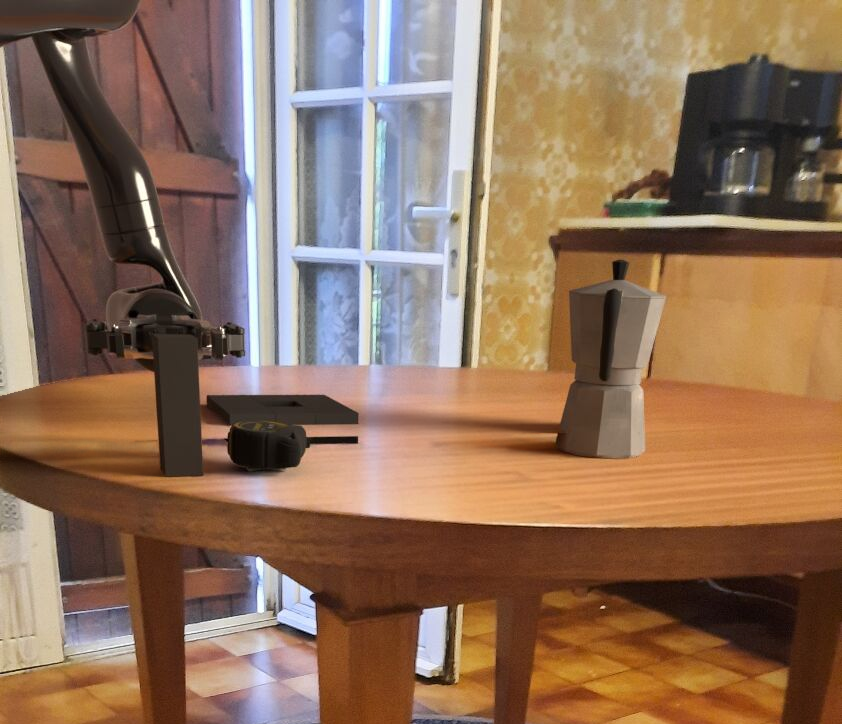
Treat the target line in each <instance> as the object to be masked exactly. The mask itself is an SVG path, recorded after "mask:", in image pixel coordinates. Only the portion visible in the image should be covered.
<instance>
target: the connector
mask: <svg viewBox="0 0 842 724" xmlns="http://www.w3.org/2000/svg"><path fill="white" fill-rule="evenodd" d="M152 344H153V360H154V372H153V373H154V374H153V375H154V390H155V403H156V404H155V407H156V421H157V435H158V436H157V439H158V454H159V470H160V471H161V472H162V474H163V476H164V477H166V478H167V477H170V478H171V477H203V476H204V458H203V438H202V437H203V435H202V413H201V412H202V411H201V391H200V371H199V370H200V369H199V360H198V345H197V338H196V337H194V336H192V335H187V334H152Z"/></svg>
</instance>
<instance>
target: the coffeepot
mask: <svg viewBox="0 0 842 724" xmlns="http://www.w3.org/2000/svg"><path fill="white" fill-rule="evenodd" d="M611 265H612V267H611V268H612V279H611V280H607V281H602V282H599V283H593V284H590V285H586V286H583V287H579V288H574V289H571V290H568V300H569V302H568V303H569V325H570V326H569V327H570V328H569V329H570V352H571V354H570V355H571V361H572V362H573V363H574V364H575V370H574V381H573V382H572V383H570V384H569V388H568V392H567V396H566V400H565V404H564V408H563V411H562V416H561V418H560V423H559V427H558V429H559V430H560V431H562V432H557V435H556V438H555V442H554V445H555V447H556V448H557V449H558V450H559V451H561V452H563V453H566V454H570V455H573V456H574V455H575V456H580V457H587V458H594V459H595V458H596V459H597V458H598V459H631V458H637V457H640V456H641V455H642V454H643V453H645V452H646V430H645V429H646V428H645V426H646V425H645V403H644V401H645V399H644V395H645V394H644V389H643V387H642V385H640V384H641V383H642V375H643V368H645V367H647V366H648V365H649V362H650V358H651V354H652V351H653V348H654V343H655V340H656V336H657V333H658V329H659V325H660V321H661V317H662V314H663V310H664V306H665V303H666V299H667V295H664V294H662V293H660V292H658V291H657V292H656V291H654V290H651V289H649V288H646V287H643V286H641V285H638V284H635V283H632V282H630V281H628V280H626V276H627V273H628V269H629V266H630V261H627V260H626V259H622V258H621V259H620V258H618V259H616V260H613V261H612V262H611ZM639 455H640V456H639ZM636 456H637V457H636Z"/></svg>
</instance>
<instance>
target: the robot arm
mask: <svg viewBox="0 0 842 724" xmlns="http://www.w3.org/2000/svg"><path fill="white" fill-rule="evenodd" d="M140 4H141V0H0V48H4V47H7V46H10V45H12V44H15V43H18V42H21V41H24V40H26V39H28V38H31V41H32V43H33V46H34V48H35V50H36V53H37V56H38V58H39V61H40V63H41V65H42V68H43V70H44V73H45V75H46V78H47V80H48V83H49V86H50V89H51V90H52V93H53V95H54V97H55V100H56V102H57V104H58V107H59V109H60V112H61V114H62V116H63V119H64V121H65V123H66V127H67V129H68V132H69V134H70V136H71V139H72V141H73V145H74V146H75V149H76V153H77V155H78V158H79V161H80V163H81V166H82V170H83V174H84V176H85V181H86V183H87V187H88V190H89V194H90V198H91V202H92V206H93V210H94V215H95V218H96V222H97V226H98V229H99V233H100V236H101V240H102V245H103V248H104V250H105V253H106V256H107V258H108V259H109V260H110V261H111V262H112V263H114V264H119V265H130V266H131V265H133V266H144V267H148V268H150V269H152V270H154V271H155V272H156V273H157V274H158V276H159V277H160V280H161V281H160V282H159V281H158V282H154V283H150V284H143V285H138V286H137V285H136V286H132V287H131V286H130V287H125V288H121V289H118V290H115V291H114V292H112V293H111V294H110V296H109V297H108V299H107V302H106V307H105V320H106V321H103V320H100V319H99V318H92V319H91V320H88V321H87V322H86V323H85V325H84V326H85V338H86V349H87V354H90V355H92V356H98V355H101V354H102V353H103V351H104V350H107V354H108V355H109V356H110V355H111V356H112V357H116V359H134V360H135V361H136V362H137V363H138V364H139V365H140V366H141V367H143V368H144V369H146V370H148V371H150V372H152V373H154V360H153V344H152V334H187V335H192V336H194V337H196V338H197V345H198V361H201V360H211V359H212V358H213V359H214V360H224V358H226V357H228V355H229V356H230V355H231V356H232V357H235V358H239V359H241V358H242V357H246V350H245V349H246V348H245V328H244V327H242V326H240V325H238V324H236V323H233V322H231V321H229V322H228V321H227V322H226V323H222V324H220V326H212V323H211V321H209V320H207V319H206V320H205V319H203V314H202V311H201V308H200V305H199V303H198V300H197V298H196V297H195V295H194V293H193V290H192V289H191V287H190V285H189V283H188V281H187V279H186V277H185V276H184V274H183V272H182V269H181V268H180V266H179V263H178V261H177V258H176V256H175V253H174V252H173V249H172V246H171V243H170V239H169V236H168V232H167V229H166V225H165V220H164V216H163V212H162V208H161V203H160V199H159V195H158V190H157V187H156V183H155V180H154V177H153V176H154V175H153V173H152V171H151V168H150V166H149V164H148V162H147V159H146V158H145V156H144V154H143V152H142V150H141V149H140V147H139V146H138V144H137V142H136V141H135V139H134V138H133V137H132V135H131V133H129V131H128V130H127V128H126V126H125V125H124V123H122V121H121V120H120V118H119V117H118V115H117V114H116V112H115V111H114V109H113V107H112V106H111V105H110V103H109V101H108V99H107V97H106V96H105V94H104V92H103V89H102V87H101V86H100V84H99V81H98V78H97V77H96V74H95V71H94V68H93V64H92V61H91V58H90V57H91V56H90V52H89V48H88V41H87V39H90V38H95V37H99V36H105V35H106V36H107V35H110V34H113V33H116V32H119V31H120V30H121V29H123V28H124V27H126V26H127V25H128V24H130V22H131V21H132V20H133V18H134V17H135V15H136V14H137V12H138V10H139V7H140Z"/></svg>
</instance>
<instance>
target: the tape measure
mask: <svg viewBox="0 0 842 724" xmlns="http://www.w3.org/2000/svg"><path fill="white" fill-rule="evenodd" d="M311 437H312V436H307V431H306V429H305V428H304V427H303V425H286V424H281V423H275V422H267V421H246V422H239V423H236V424H234V425H232V426H230V428H229V431H228V432H227V437H226V438H227V442H226V449H227V454H228V456H229V459H230V461H231V462H232V463H233V464H234V465H236V466H240V467H243V468H245V469H246V471H248V472H253V471H258V470H263V471H265V470H282V471H284V472H285V471H287V469H290V468H296V467H298V466H299V465H300V464H301V460H302V458H303V457H304V455H305V453H306V450H307V449H310V447H311V444H310V443H309V440H310V439H311Z"/></svg>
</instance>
